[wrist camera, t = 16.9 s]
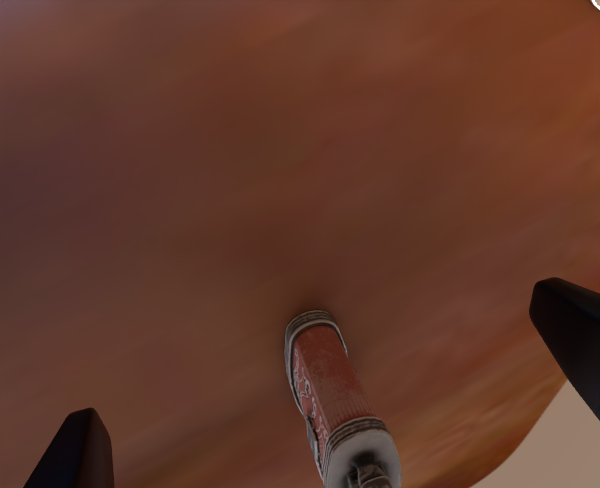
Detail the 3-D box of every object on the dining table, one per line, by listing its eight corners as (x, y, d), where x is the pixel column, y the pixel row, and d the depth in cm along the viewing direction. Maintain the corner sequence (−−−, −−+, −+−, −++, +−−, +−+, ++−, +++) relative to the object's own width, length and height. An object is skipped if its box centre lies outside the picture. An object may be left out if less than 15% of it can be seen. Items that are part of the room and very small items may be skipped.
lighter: (275, 320, 25) (341, 511, 17) (339, 302, 26) (431, 479, 18) (295, 418, 30) (355, 604, 22) (349, 401, 30) (426, 577, 22)
